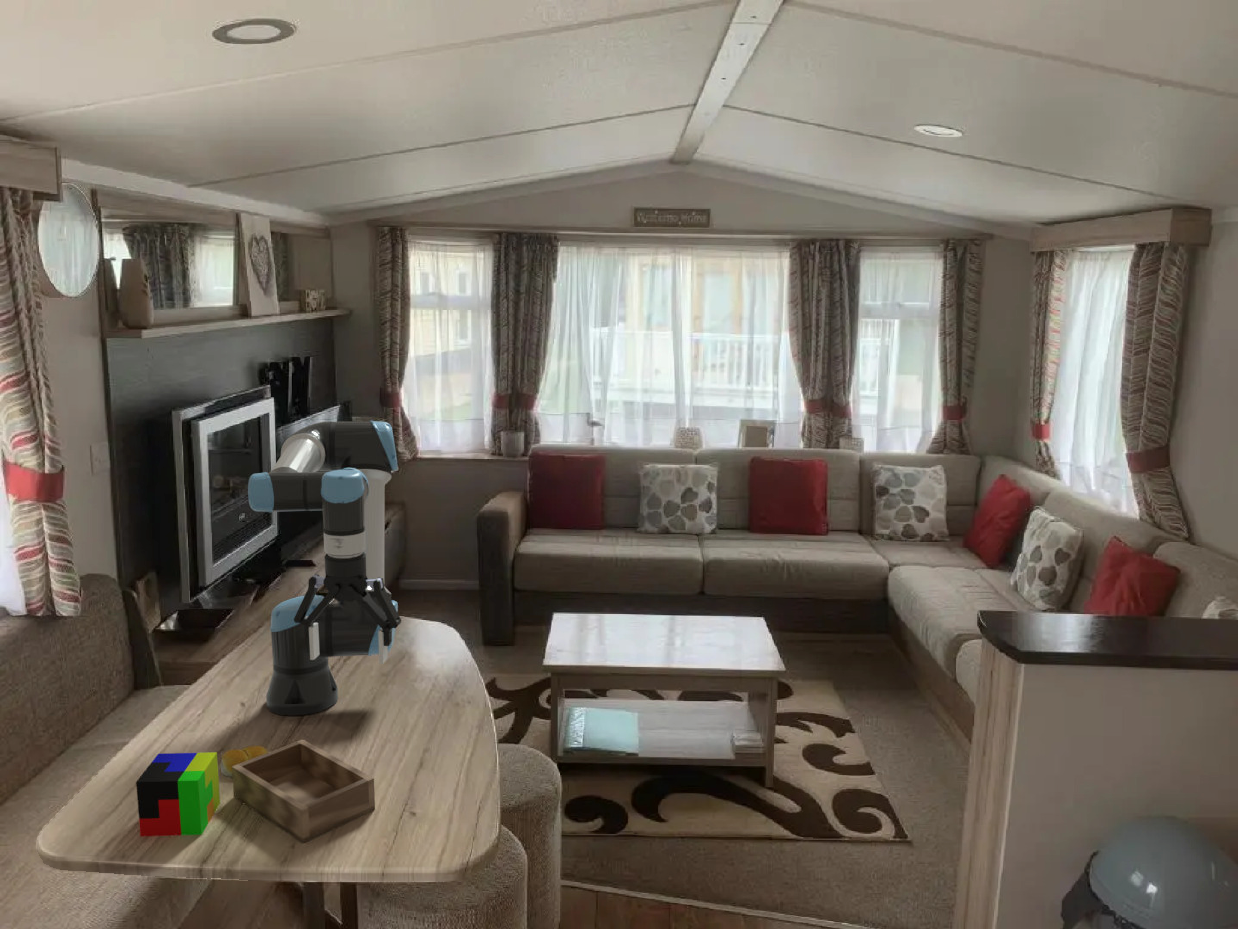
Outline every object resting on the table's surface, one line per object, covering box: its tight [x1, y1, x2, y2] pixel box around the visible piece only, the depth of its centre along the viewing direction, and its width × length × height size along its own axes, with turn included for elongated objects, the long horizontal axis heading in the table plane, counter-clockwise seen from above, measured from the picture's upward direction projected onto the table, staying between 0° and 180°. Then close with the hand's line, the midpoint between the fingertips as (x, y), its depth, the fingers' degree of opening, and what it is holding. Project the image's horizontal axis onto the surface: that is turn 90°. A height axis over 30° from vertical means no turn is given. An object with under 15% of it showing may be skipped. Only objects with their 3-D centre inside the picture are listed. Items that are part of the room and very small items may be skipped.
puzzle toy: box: [135, 751, 221, 837], centre depth 171 cm, size 10×10×10 cm
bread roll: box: [219, 745, 269, 778], centre depth 190 cm, size 8×9×4 cm
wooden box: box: [232, 739, 376, 844], centre depth 177 cm, size 22×14×6 cm, turn 50°
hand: (349, 659), depth 190 cm, fingers open, 13 cm apart
